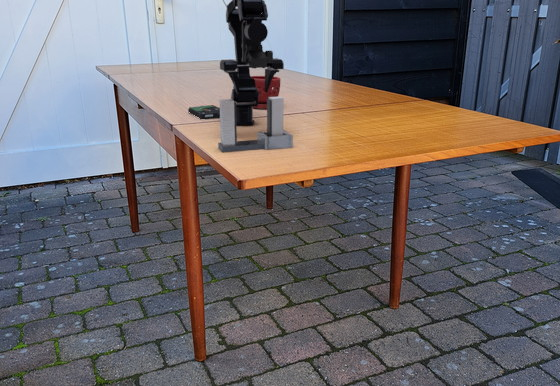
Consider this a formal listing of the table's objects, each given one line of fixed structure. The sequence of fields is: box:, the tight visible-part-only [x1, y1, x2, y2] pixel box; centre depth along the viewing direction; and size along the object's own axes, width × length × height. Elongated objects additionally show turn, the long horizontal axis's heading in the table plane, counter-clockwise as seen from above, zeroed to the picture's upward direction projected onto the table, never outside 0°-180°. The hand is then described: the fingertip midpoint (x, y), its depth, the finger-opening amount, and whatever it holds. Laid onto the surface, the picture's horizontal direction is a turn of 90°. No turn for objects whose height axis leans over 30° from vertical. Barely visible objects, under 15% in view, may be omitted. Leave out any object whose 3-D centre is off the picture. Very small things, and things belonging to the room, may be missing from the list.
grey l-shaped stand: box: [217, 98, 294, 153], centre depth 153 cm, size 7×20×14 cm, turn 110°
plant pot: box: [250, 75, 281, 110], centre depth 213 cm, size 13×13×12 cm
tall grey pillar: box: [266, 95, 284, 136], centre depth 155 cm, size 3×4×12 cm
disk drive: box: [187, 104, 220, 120], centre depth 199 cm, size 10×3×15 cm
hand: (252, 93), depth 166 cm, fingers open, 9 cm apart
